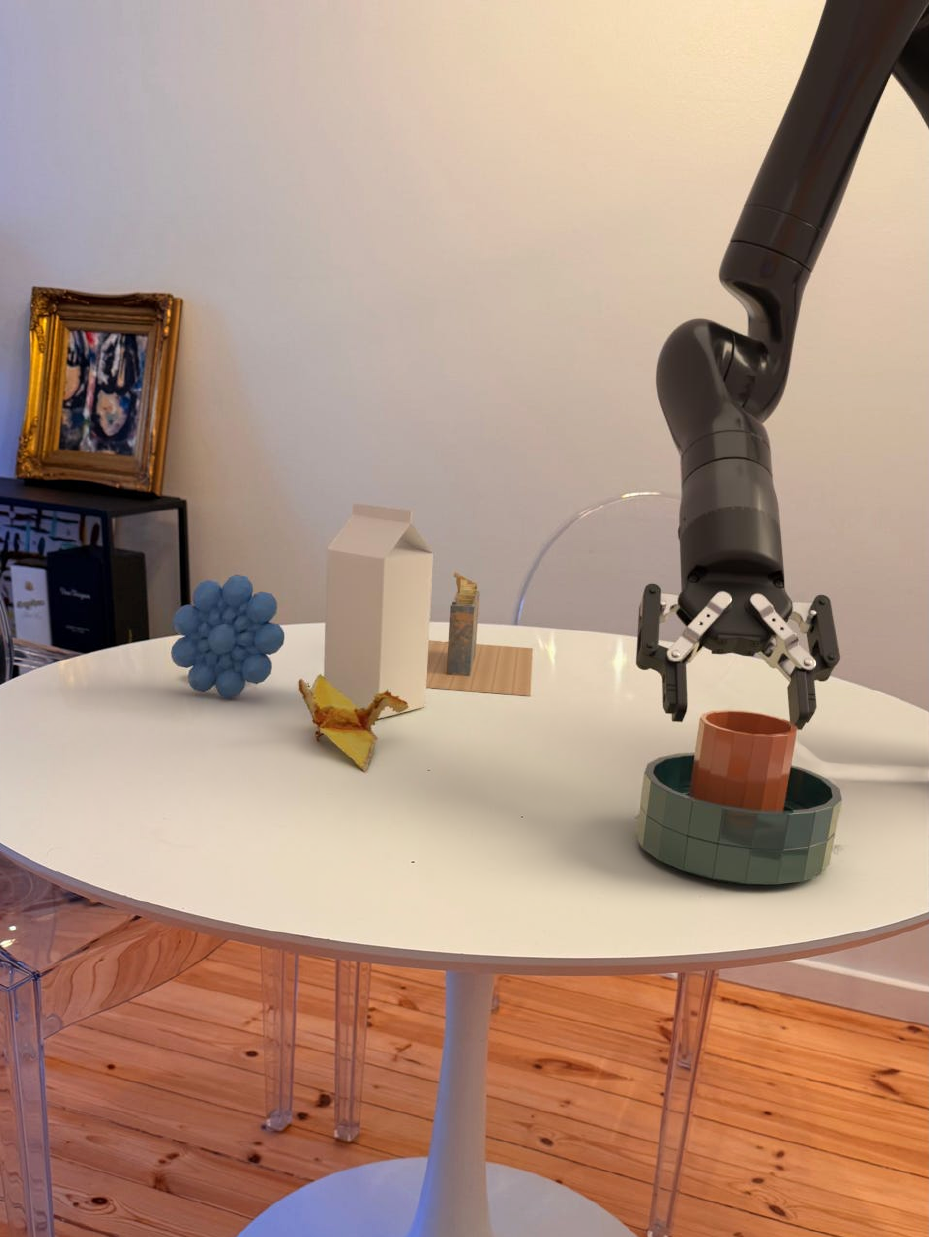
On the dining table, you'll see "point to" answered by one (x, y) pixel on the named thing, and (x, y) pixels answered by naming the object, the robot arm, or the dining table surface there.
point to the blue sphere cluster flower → (227, 636)
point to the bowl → (737, 828)
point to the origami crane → (346, 718)
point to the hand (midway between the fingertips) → (740, 720)
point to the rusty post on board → (463, 626)
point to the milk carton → (378, 608)
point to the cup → (743, 759)
